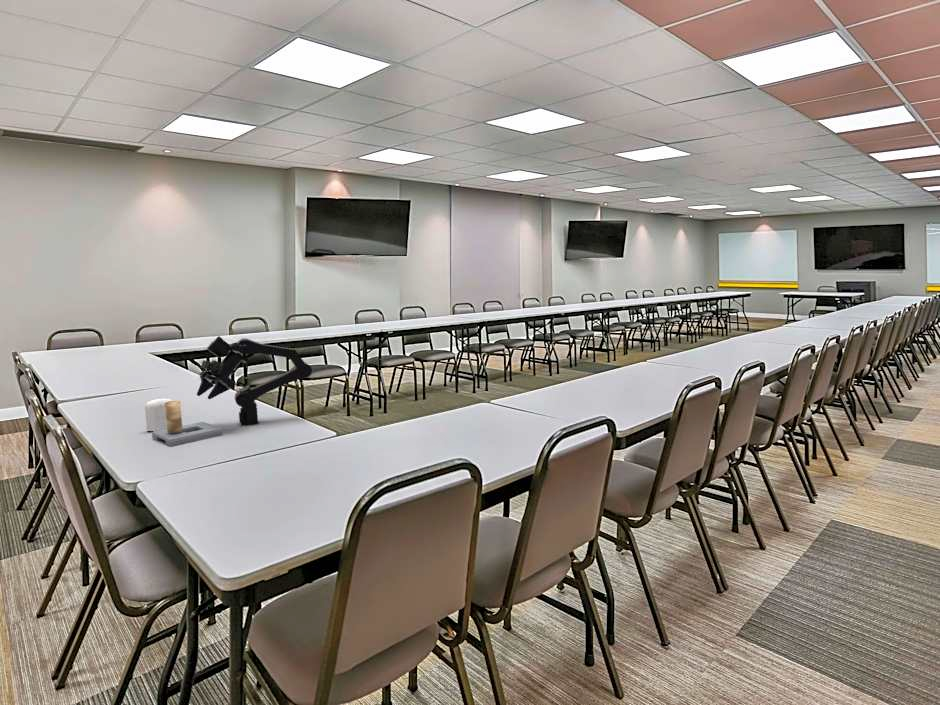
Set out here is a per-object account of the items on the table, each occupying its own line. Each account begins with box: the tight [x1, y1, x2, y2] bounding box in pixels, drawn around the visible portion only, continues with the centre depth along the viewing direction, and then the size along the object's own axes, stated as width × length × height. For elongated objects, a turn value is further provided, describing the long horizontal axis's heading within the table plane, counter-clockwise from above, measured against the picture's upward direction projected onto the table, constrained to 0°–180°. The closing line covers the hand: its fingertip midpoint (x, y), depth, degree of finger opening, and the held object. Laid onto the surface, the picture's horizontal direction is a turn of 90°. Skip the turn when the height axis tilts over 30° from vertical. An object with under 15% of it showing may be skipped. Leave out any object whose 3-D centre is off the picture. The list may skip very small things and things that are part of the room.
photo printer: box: [144, 398, 174, 432], centre depth 227 cm, size 10×4×12 cm, turn 123°
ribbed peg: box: [165, 400, 183, 434], centre depth 213 cm, size 5×5×14 cm
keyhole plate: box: [151, 421, 224, 447], centre depth 217 cm, size 19×16×2 cm
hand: (203, 397), depth 222 cm, fingers open, 9 cm apart
